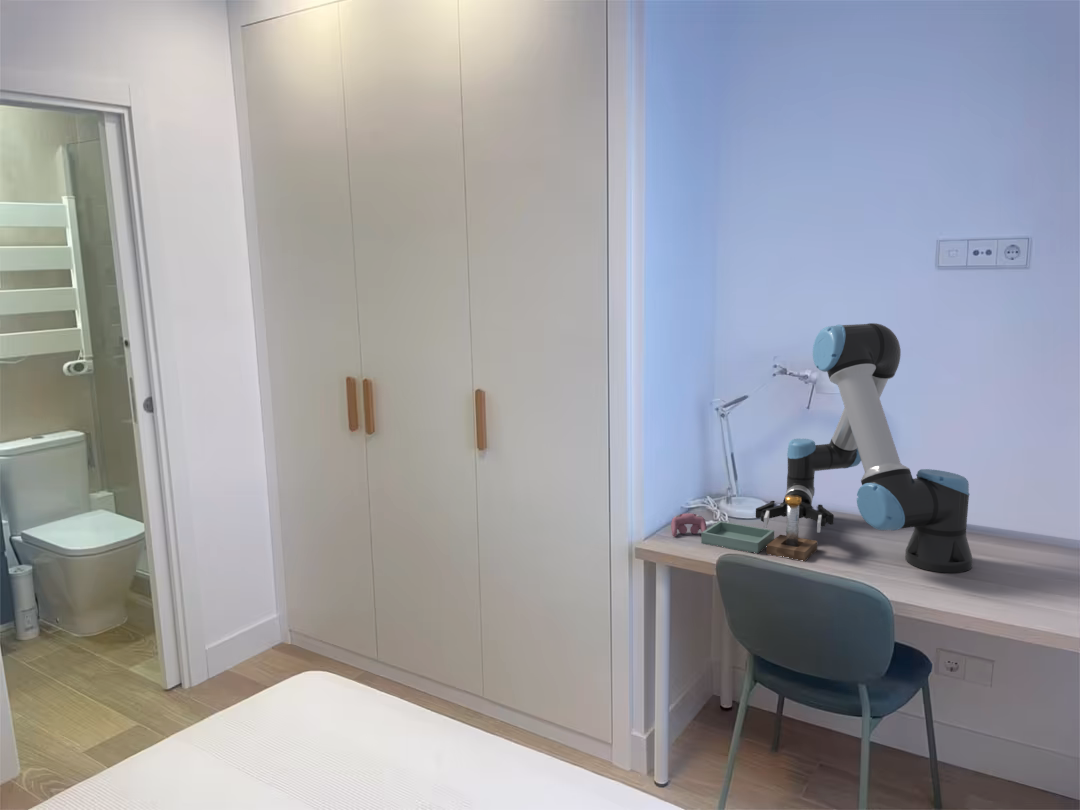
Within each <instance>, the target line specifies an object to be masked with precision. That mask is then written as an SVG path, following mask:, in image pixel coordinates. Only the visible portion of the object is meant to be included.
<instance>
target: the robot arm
mask: <svg viewBox="0 0 1080 810" xmlns="http://www.w3.org/2000/svg"><path fill="white" fill-rule="evenodd" d="M901 355H902V354H901V345H900V342H899V338H898V337H897V336H896V334H895V333H894V331H893V330H891V329H890V328H888V327H887V326H885V325H883V324H880V323H875V322H872V323H870V322H869V323H858V324H856V323H855V324H836V325H829V326H826V327H824V328H822V329H820V331H819V332H818V333H817V334H816V336H815V339H814V342H813V346H812V360H813V363H814V366H815V367H816V369H818V370H819V371H820V372H824V373H827V376H828V379H829V382H831V383H833V384H835V385H836V386H837V387H838V390H839V393H840V397H841V400H842V402H843V405H844V409H843V411H842V412H841V416H840V418H839V421H838V423H837V425H836V426H835V427H836V428H835V430H834V433H833V435H832V437H831V439H830V442H828V443H825V444H816V442H815V441H814V439H813V440H812V439H809V438H793V439H791V440H790V441H789V442H788V447H787V453H786V454H787V455H786V456H787V473H786V474H787V476H786V491H785V495H784V497H783V502H781V503H777V502H776V501H775V500H771V501H769V503H766V504H763V505H761V506H758V507H757V508H755V518H756V519H760V521H761V522H763V529H768V525H769V522H770V519H772V518H778V517H787V504H786V503H785V496H787V495H797V496H800V497H801V504H800V505H799V519H802V518H804V519H811V520H812V521H814V522H816V524H817V526H816V533H821V530H822V529H821V528H822V527H826V526H827V524H829V525H834V522H835V521H834V519H835V518H834V517H835V514H833V513H832V512H831V511H829V510H828V509H826V508H825V507H824V506H823V504H817V505H816V506H813V505H812V504H813V498H814V496H815V473H816V472H818V471H821V472H822V471H827V470H828V471H829V470H838V469H849V468H854V467H856V466H859V464H862V466H863V467H862V468H863V470H864V473H863V475H862V477H861V478H860V483H861V486H860V487H859V488H858V490H857V493H856V496H857V497H856V506H857V509H858V512H859V514H860V516H861V517H862V520H864V521H865V522H866V523H867V524H868V525H869V526H871V527H872V528H874V529H876V530H878V531H897V530H900V529H908V528H913V532H912V535H911V536H910V539H909V541H908V543H907V546H906V549H905V555H904V557H905V561H906V562H907V563H908V564H910V565H911V566H914V567H916V568H919V569H922V570H924V571H925V570H927V571H931V572H936V573H944V574H945V573H954V574H956V573H963V572H966V571H969V570H971V569H972V567H973V555H972V552H971V549H970V545H969V542H968V538H967V527H968V526H967V523H968V511H969V500H970V499H969V498H970V492H969V491H970V489H969V488H970V487H969V486H970V485H969V480H968V478H966V477H965V476H963V475H960V474H958V473H954V472H950V471H945V470H940V469H938V470H937V469H930V468H929V469H928V468H927V469H926V468H925V469H924V468H921V469H919V470H918V471H917V472H916V478H913V475H912V472H911V469H910V468H909V467H907V466H905V465H903V464H902V463H901V460H900V457H899V454H898V451H897V447H896V444H895V441H894V438H893V435H892V432H891V428H890V427H889V423H888V420H887V417H886V414H885V411H884V408H883V406H882V401H881V399H880V398H881V396H882V394H883V391H884V389H885V387H886V386H887V382H888V380H890V379H893V378H894V376H895V374H896V373H897V371H898V369H899V364H900V362H901V361H900V360H901V357H902V356H901Z"/></svg>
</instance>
